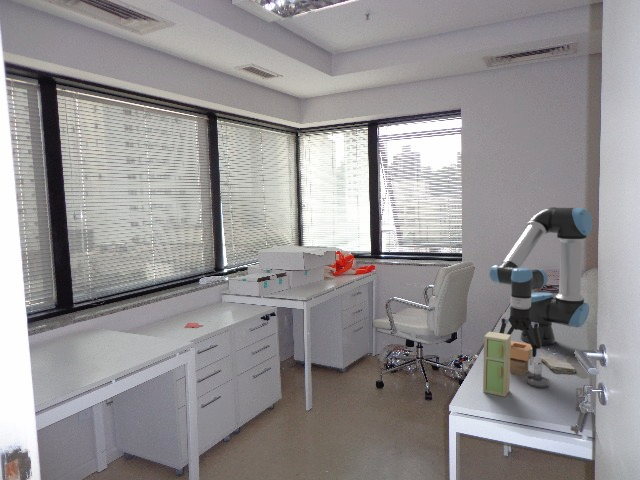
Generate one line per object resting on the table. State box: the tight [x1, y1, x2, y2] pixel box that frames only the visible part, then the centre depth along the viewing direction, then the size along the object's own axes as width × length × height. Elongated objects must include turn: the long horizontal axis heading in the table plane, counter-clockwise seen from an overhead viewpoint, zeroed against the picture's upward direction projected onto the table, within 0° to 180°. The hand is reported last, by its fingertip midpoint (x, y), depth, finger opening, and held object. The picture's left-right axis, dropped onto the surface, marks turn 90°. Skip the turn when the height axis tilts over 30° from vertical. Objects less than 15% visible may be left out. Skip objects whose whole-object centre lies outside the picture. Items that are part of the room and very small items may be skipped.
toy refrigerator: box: [482, 331, 512, 398], centre depth 166 cm, size 8×7×21 cm
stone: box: [539, 355, 577, 375], centre depth 191 cm, size 15×11×3 cm
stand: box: [510, 347, 530, 376], centre depth 186 cm, size 6×6×10 cm
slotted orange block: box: [510, 340, 532, 361], centre depth 186 cm, size 9×9×4 cm
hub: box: [526, 362, 549, 390], centre depth 173 cm, size 7×7×8 cm
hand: (518, 361), depth 186 cm, fingers closed on slotted orange block, 9 cm apart
